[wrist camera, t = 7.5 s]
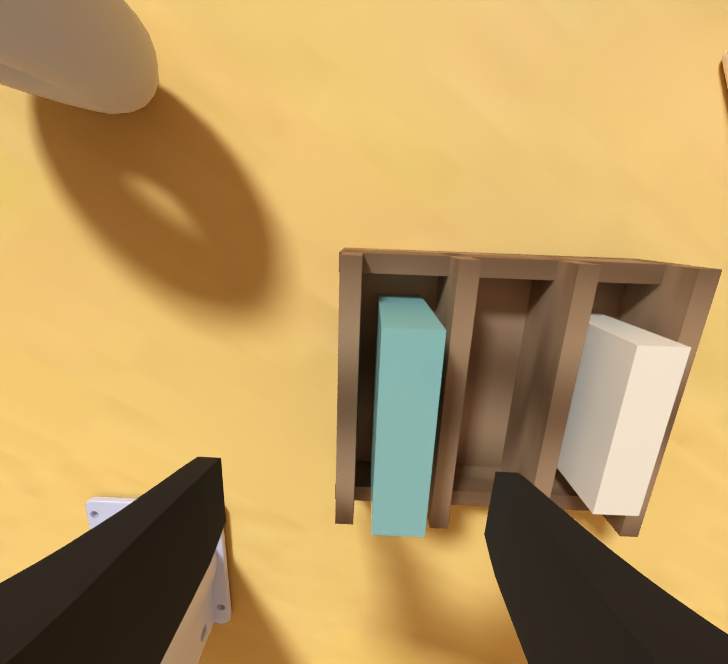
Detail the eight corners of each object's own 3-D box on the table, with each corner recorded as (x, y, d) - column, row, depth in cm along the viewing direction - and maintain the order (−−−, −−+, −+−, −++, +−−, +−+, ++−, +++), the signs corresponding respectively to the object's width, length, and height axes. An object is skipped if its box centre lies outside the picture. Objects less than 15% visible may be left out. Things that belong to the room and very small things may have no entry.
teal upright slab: (408, 443, 19) (424, 537, 13) (370, 441, 19) (370, 534, 13) (420, 294, 17) (446, 330, 11) (377, 293, 17) (381, 327, 11)
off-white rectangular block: (570, 442, 19) (638, 515, 14) (536, 440, 19) (592, 514, 14) (600, 313, 17) (691, 347, 12) (561, 311, 17) (637, 345, 12)
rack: (584, 471, 20) (641, 537, 16) (340, 461, 21) (332, 523, 16) (636, 258, 17) (726, 269, 13) (344, 247, 17) (335, 254, 13)
